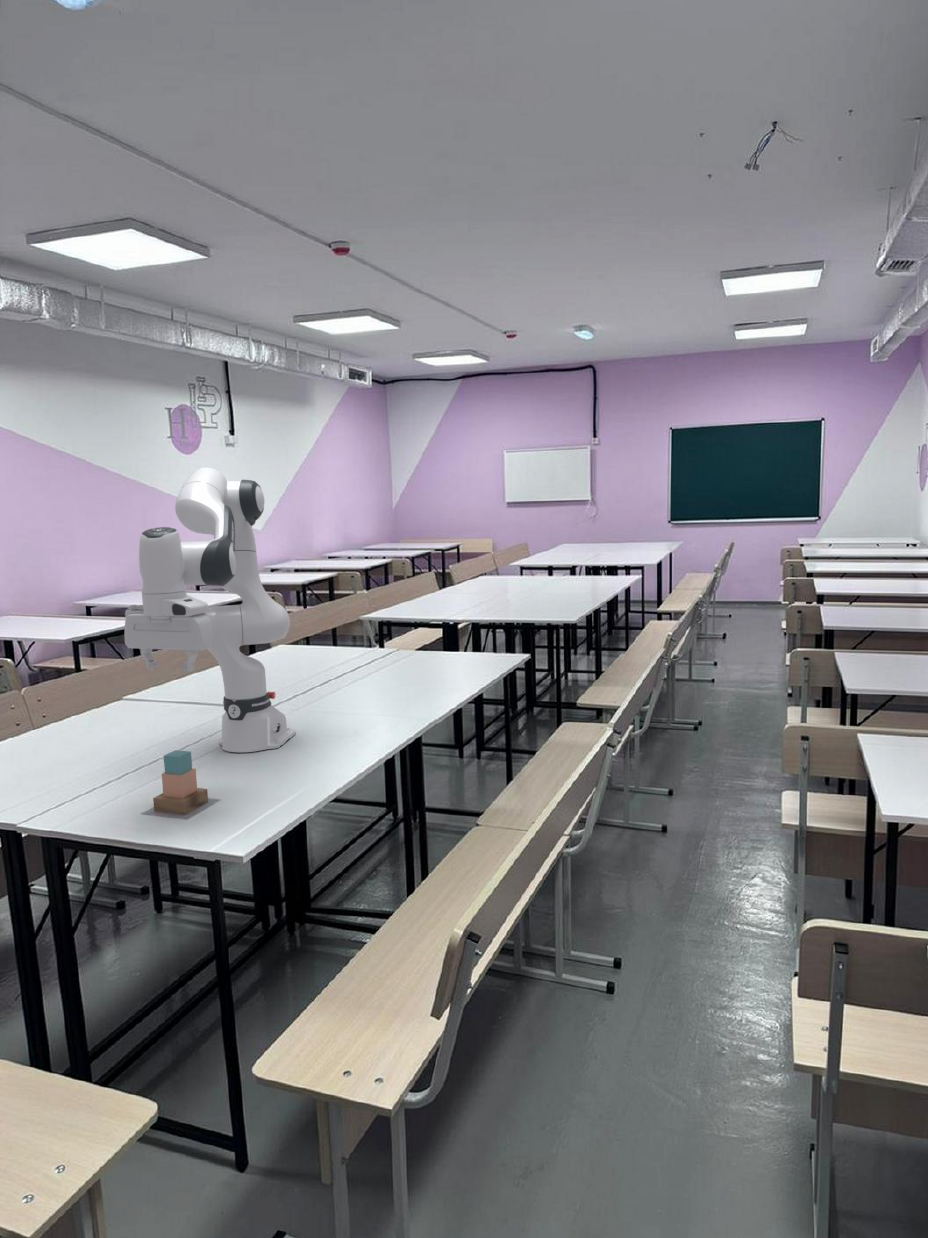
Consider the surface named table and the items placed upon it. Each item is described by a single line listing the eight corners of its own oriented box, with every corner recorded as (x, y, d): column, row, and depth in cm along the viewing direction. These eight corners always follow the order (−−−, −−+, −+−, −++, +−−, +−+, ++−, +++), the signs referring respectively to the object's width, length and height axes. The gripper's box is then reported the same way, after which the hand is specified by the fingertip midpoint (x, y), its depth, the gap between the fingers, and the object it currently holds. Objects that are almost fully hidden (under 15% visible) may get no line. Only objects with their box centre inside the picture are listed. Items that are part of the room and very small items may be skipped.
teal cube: (176, 767, 184) (175, 750, 184) (192, 769, 183) (190, 751, 183) (165, 773, 181) (163, 755, 180) (180, 775, 179) (179, 757, 179)
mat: (176, 797, 191) (176, 794, 191) (221, 802, 187) (221, 799, 187) (140, 816, 180) (140, 814, 180) (187, 822, 176) (187, 819, 176)
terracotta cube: (178, 788, 186) (176, 766, 185) (197, 790, 184) (195, 768, 184) (163, 796, 181) (161, 773, 181) (182, 798, 180) (181, 775, 179)
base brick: (178, 798, 188) (177, 785, 188) (208, 801, 186) (207, 788, 185) (154, 811, 181) (153, 798, 180) (185, 815, 178) (184, 801, 178)
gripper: (114, 606, 177) (120, 670, 179) (196, 608, 171) (201, 674, 173) (135, 602, 183) (140, 665, 185) (214, 604, 176) (219, 668, 178)
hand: (170, 669), depth 179 cm, fingers open, 8 cm apart
